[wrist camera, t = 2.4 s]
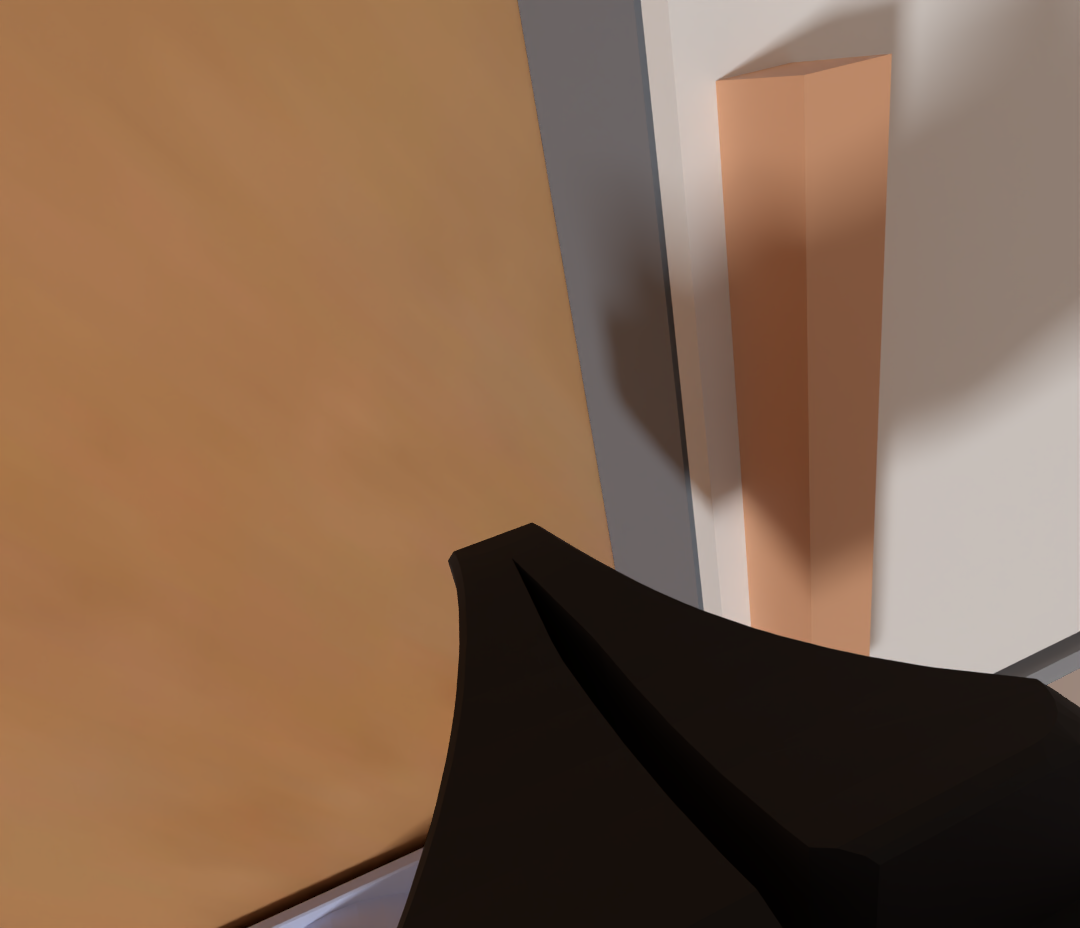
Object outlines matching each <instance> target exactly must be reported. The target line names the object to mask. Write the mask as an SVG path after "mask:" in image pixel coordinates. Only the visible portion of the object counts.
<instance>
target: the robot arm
mask: <svg viewBox="0 0 1080 928" xmlns="http://www.w3.org/2000/svg"><path fill="white" fill-rule="evenodd" d="M448 562H449V566H450V569H451V572H452V575H453V579H454V582H455V585H456V588H457V595H458V605H459V641H460V645H459V664H458V678H457V691H456V701H455V709H454V717H453V724H452V730H451V736H450V742H449V747H448V753H447V758H446V763H445V767H444V772H443V776H442V781H441V785H440V789H439V794H438V798H437V803H436V806H435V810H434V814H433V818H432V822H431V825H430V829H429V832H428V836H427V839H426V842H425V845H424V847H423V848H421V849H419V850H416V851H414V852H412V853H410V854H408V855H406V856H403V857H401V858H399V859H397V860H395V861H392V862H390V863H388V864H386V865H384V866H381V867H379V868H377V869H375V870H373V871H371V872H368V873H366V874H364V875H362V876H360V877H357V878H355V879H353V880H351V881H349V882H346V883H344V884H342V885H340V886H338V887H336V888H333V889H331V890H329V891H327V892H325V893H322V894H320V895H318V896H316V897H314V898H311V899H309V900H307V901H305V902H303V903H301V904H298V905H296V906H294V907H292V908H290V909H287V910H285V911H283V912H281V913H279V914H276V915H274V916H272V917H270V918H268V919H266V920H263V921H261V922H259V923H257V924H255V925H252V926H250V927H248V928H1080V707H1078V706H1077V705H1076V704H1074V703H1073V702H1071V701H1069V700H1068V699H1067V698H1065V697H1063V696H1062V695H1061V694H1059V693H1058V692H1057V691H1055V690H1053V689H1052V688H1050V687H1049V686H1047V685H1045V684H1044V683H1042V682H1041V681H1039V680H1038V679H1035V678H1026V677H1017V676H1008V675H999V674H990V673H981V672H972V671H963V670H954V669H944V668H935V667H929V666H922V665H916V664H910V663H904V662H899V661H893V660H887V659H881V658H875V657H870V656H865V655H860V654H855V653H850V652H845V651H841V650H836V649H831V648H827V647H823V646H819V645H815V644H811V643H807V642H803V641H799V640H795V639H792V638H788V637H784V636H780V635H776V634H773V633H769V632H766V631H763V630H759V629H756V628H753V627H750V626H747V625H744V624H741V623H738V622H735V621H732V620H729V619H726V618H723V617H720V616H717V615H715V614H712V613H709V612H706V611H703V610H701V609H698V608H696V607H693V606H691V605H688V604H686V603H683V602H681V601H679V600H676V599H674V598H672V597H670V596H667V595H665V594H663V593H660V592H658V591H656V590H654V589H652V588H650V587H648V586H646V585H644V584H641V583H639V582H637V581H636V580H634V579H632V578H630V577H628V576H626V575H624V574H622V573H620V572H618V571H616V570H614V569H612V568H610V567H609V566H607V565H605V564H603V563H601V562H599V561H598V560H596V559H594V558H592V557H590V556H589V555H587V554H585V553H583V552H582V551H580V550H578V549H577V548H575V547H573V546H571V545H570V544H568V543H566V542H565V541H563V540H561V539H560V538H558V537H556V536H555V535H553V534H552V533H550V532H548V531H547V530H545V529H543V528H542V527H540V526H538V525H536V524H534V523H530V524H527V525H524V526H521V527H519V528H516V529H513V530H511V531H508V532H505V533H503V534H500V535H497V536H494V537H492V538H489V539H486V540H484V541H481V542H478V543H476V544H473V545H470V546H467V547H465V548H462V549H459V550H457V551H454V552H453V554H452V555H451V557H450V559H449V560H448Z"/></svg>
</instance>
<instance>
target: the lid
mask: <svg viewBox="0 0 1080 928" xmlns="http://www.w3.org/2000/svg"><path fill="white" fill-rule="evenodd" d="M641 8H642V18H643V27H644V37H645V47H646V56H647V66H648V76H649V85H650V95H651V105H652V114H653V124H654V134H655V143H656V153H657V163H658V172H659V182H660V192H661V201H662V211H663V221H664V230H665V240H666V250H667V259H668V269H669V279H670V288H671V298H672V308H673V317H674V327H675V337H676V346H677V356H678V366H679V375H680V385H681V395H682V404H683V414H684V424H685V433H686V443H687V453H688V462H689V472H690V482H691V491H692V501H693V511H694V520H695V530H696V540H697V549H698V559H699V569H700V578H701V588H702V598H703V607H704V611H706V612H709V613H712V614H715V615H717V616H720V617H723V618H726V619H729V620H732V621H735V622H738V623H741V624H744V625H747V626H750V627H753V628H756V629H759V630H763V631H766V632H769V633H773V634H776V635H780V636H784V637H788V638H792V639H795V640H799V641H803V642H807V643H811V644H815V645H819V646H823V647H827V648H831V649H836V650H841V651H845V652H850V653H855V654H860V655H865V656H870V657H875V658H881V659H887V660H893V661H899V662H904V663H910V664H916V665H922V666H929V667H935V668H944V669H954V670H963V671H972V672H981V673H990V674H994V673H996V672H998V671H1000V670H1002V669H1004V668H1006V667H1008V666H1010V665H1012V664H1014V663H1016V662H1018V661H1020V660H1022V659H1024V658H1026V657H1028V656H1030V655H1032V654H1034V653H1036V652H1038V651H1040V650H1043V649H1045V648H1047V647H1049V646H1051V645H1053V644H1055V643H1057V642H1059V641H1061V640H1063V639H1065V638H1067V637H1069V636H1071V635H1073V634H1075V633H1077V632H1079V631H1080V0H641Z"/></svg>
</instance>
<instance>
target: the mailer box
mask: <svg viewBox="0 0 1080 928" xmlns="http://www.w3.org/2000/svg"><path fill="white" fill-rule="evenodd" d="M518 5H519V11H520V16H521V22H522V28H523V34H524V40H525V46H526V51H527V57H528V63H529V69H530V75H531V81H532V86H533V92H534V98H535V104H536V110H537V115H538V121H539V127H540V133H541V139H542V145H543V150H544V156H545V162H546V168H547V174H548V179H549V185H550V191H551V197H552V203H553V209H554V214H555V220H556V226H557V232H558V238H559V244H560V249H561V255H562V261H563V267H564V273H565V278H566V284H567V290H568V296H569V302H570V308H571V313H572V319H573V325H574V331H575V337H576V342H577V348H578V354H579V360H580V366H581V372H582V377H583V383H584V389H585V395H586V401H587V407H588V412H589V418H590V424H591V430H592V436H593V441H594V447H595V453H596V459H597V465H598V471H599V476H600V482H601V488H602V494H603V500H604V506H605V511H606V517H607V523H608V529H609V535H610V540H611V546H612V552H613V558H614V564H615V570H616V571H618V572H620V573H622V574H624V575H626V576H628V577H630V578H632V579H634V580H636V581H637V582H639V583H641V584H644V585H646V586H648V587H650V588H652V589H654V590H656V591H658V592H660V593H663V594H665V595H667V596H670V597H672V598H674V599H676V600H679V601H681V602H683V603H686V604H688V605H691V606H693V607H696V608H698V609H701V610H703V611H704V607H703V598H702V588H701V578H700V569H699V559H698V549H697V540H696V530H695V520H694V511H693V501H692V491H691V482H690V472H689V462H688V453H687V443H686V433H685V424H684V414H683V404H682V395H681V385H680V375H679V366H678V356H677V346H676V337H675V327H674V317H673V308H672V298H671V288H670V279H669V269H668V259H667V250H666V240H665V230H664V221H663V211H662V201H661V192H660V182H659V172H658V163H657V153H656V143H655V134H654V124H653V114H652V105H651V95H650V85H649V76H648V66H647V56H646V47H645V37H644V27H643V18H642V8H641V0H518ZM1079 668H1080V631H1079V632H1077V633H1075V634H1073V635H1071V636H1069V637H1067V638H1065V639H1063V640H1061V641H1059V642H1057V643H1055V644H1053V645H1051V646H1049V647H1047V648H1045V649H1043V650H1040V651H1038V652H1036V653H1034V654H1032V655H1030V656H1028V657H1026V658H1024V659H1022V660H1020V661H1018V662H1016V663H1014V664H1012V665H1010V666H1008V667H1006V668H1004V669H1002V670H1000V671H998V672H996V673H994V674H999V675H1008V676H1017V677H1026V678H1035V679H1038V680H1039V681H1041V682H1042V683H1044V684H1045V685H1048V684H1050V683H1052V682H1054V681H1056V680H1058V679H1060V678H1062V677H1064V676H1065V675H1067V674H1069V673H1071V672H1073V671H1075V670H1077V669H1079Z"/></svg>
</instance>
